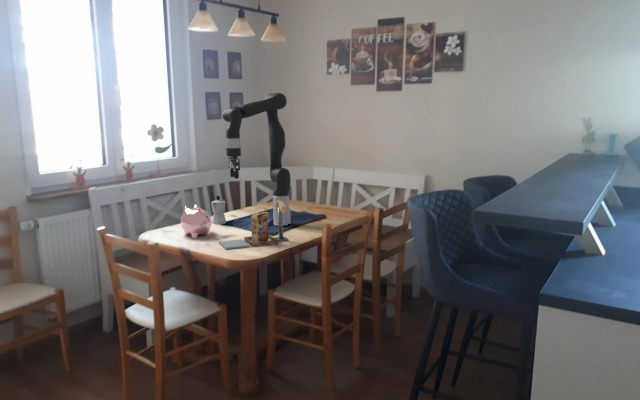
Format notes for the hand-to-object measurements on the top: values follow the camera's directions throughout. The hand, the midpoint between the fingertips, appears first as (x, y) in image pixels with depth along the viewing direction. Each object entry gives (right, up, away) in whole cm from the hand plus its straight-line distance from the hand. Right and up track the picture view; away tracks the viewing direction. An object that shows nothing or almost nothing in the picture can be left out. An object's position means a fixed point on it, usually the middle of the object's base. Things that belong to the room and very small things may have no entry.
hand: (234, 177), depth 267 cm
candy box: (+15, -34, -8) cm, 38 cm away
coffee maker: (-15, -27, +35) cm, 47 cm away
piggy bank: (-22, -31, +9) cm, 40 cm away
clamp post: (+25, -33, -4) cm, 41 cm away
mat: (+2, -35, -14) cm, 37 cm away
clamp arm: (+26, -16, -15) cm, 34 cm away
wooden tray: (+15, -34, -8) cm, 38 cm away
